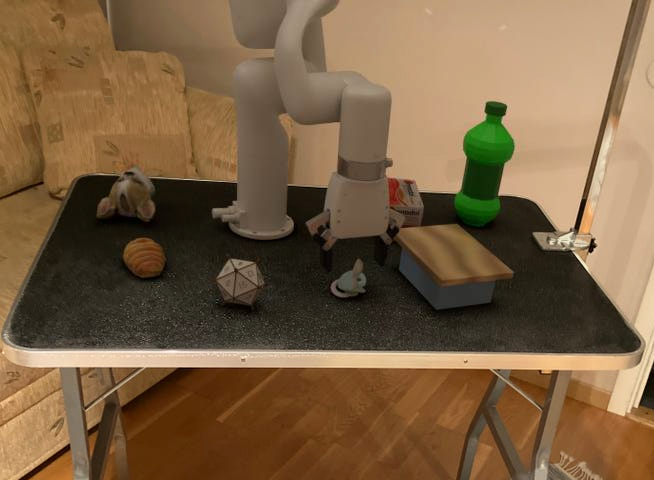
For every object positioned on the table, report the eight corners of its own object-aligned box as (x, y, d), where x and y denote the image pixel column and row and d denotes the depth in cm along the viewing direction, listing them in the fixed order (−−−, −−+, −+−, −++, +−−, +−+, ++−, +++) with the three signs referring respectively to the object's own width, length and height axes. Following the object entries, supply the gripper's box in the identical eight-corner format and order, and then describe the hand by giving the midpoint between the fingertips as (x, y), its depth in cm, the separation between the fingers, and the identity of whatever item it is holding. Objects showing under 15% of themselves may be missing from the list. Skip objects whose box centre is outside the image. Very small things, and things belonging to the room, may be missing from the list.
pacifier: (329, 300, 126) (364, 303, 127) (330, 267, 123) (367, 270, 123) (332, 280, 133) (365, 282, 133) (333, 248, 129) (368, 250, 129)
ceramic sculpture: (163, 159, 147) (149, 192, 135) (166, 199, 152) (153, 234, 140) (107, 154, 146) (88, 187, 134) (112, 195, 151) (94, 231, 139)
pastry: (172, 278, 126) (171, 258, 124) (130, 283, 123) (128, 262, 121) (160, 254, 133) (159, 234, 131) (121, 257, 130) (119, 237, 128)
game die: (228, 320, 124) (202, 264, 123) (275, 299, 126) (250, 244, 124) (229, 322, 116) (201, 262, 114) (280, 300, 117) (253, 240, 115)
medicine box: (419, 244, 149) (425, 207, 144) (378, 242, 148) (383, 204, 143) (410, 214, 161) (415, 178, 157) (372, 211, 160) (376, 175, 156)
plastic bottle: (506, 229, 160) (532, 112, 146) (463, 232, 156) (485, 112, 143) (483, 210, 168) (506, 97, 154) (442, 213, 164) (461, 96, 150)
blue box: (436, 309, 128) (441, 278, 124) (398, 269, 139) (402, 240, 135) (490, 302, 132) (497, 272, 129) (450, 264, 143) (455, 235, 140)
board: (440, 286, 122) (442, 280, 121) (389, 235, 137) (390, 229, 136) (512, 278, 128) (513, 272, 127) (456, 229, 142) (457, 223, 142)
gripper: (400, 157, 123) (389, 252, 133) (300, 161, 116) (297, 261, 126) (420, 172, 118) (408, 270, 127) (317, 178, 111) (312, 281, 120)
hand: (352, 265), depth 126 cm, fingers open, 9 cm apart
